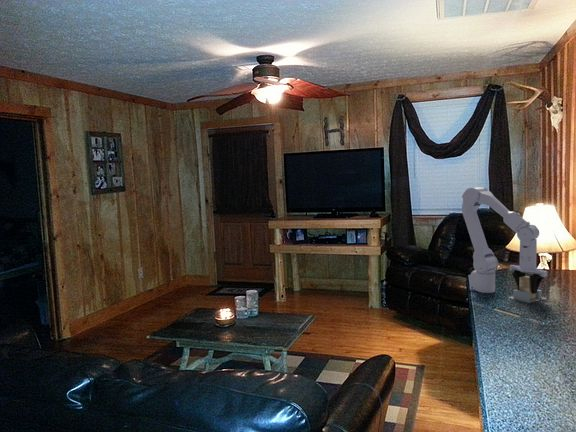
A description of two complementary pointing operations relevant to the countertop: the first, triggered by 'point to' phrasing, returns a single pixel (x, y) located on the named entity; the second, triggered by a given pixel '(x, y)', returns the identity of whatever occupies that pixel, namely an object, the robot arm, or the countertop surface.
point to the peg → (526, 286)
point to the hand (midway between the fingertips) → (527, 291)
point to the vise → (526, 296)
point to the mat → (509, 313)
